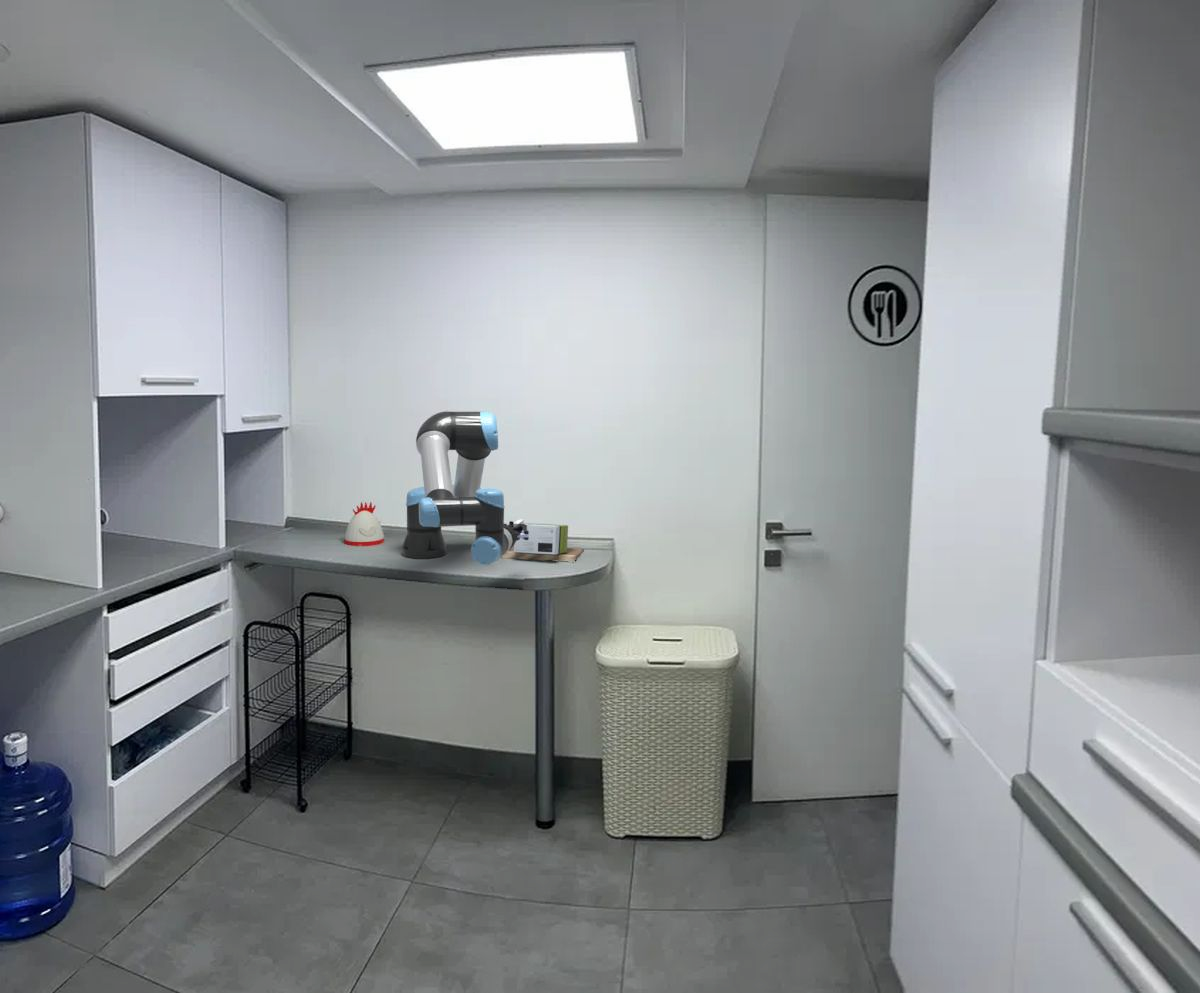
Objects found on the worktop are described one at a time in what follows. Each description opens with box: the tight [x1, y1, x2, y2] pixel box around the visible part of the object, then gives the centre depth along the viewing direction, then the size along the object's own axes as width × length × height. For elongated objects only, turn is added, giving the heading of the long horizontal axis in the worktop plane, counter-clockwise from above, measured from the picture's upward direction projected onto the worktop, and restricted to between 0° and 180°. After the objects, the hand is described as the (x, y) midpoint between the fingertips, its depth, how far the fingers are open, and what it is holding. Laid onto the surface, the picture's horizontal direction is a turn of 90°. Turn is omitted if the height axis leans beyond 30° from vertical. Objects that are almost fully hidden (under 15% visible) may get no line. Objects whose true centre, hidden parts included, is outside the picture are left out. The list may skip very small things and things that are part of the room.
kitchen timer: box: [344, 501, 385, 547], centre depth 278 cm, size 14×14×15 cm
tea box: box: [514, 522, 569, 555], centre depth 262 cm, size 15×10×15 cm
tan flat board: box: [500, 546, 585, 562], centre depth 267 cm, size 26×18×2 cm
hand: (521, 523), depth 235 cm, fingers closed
